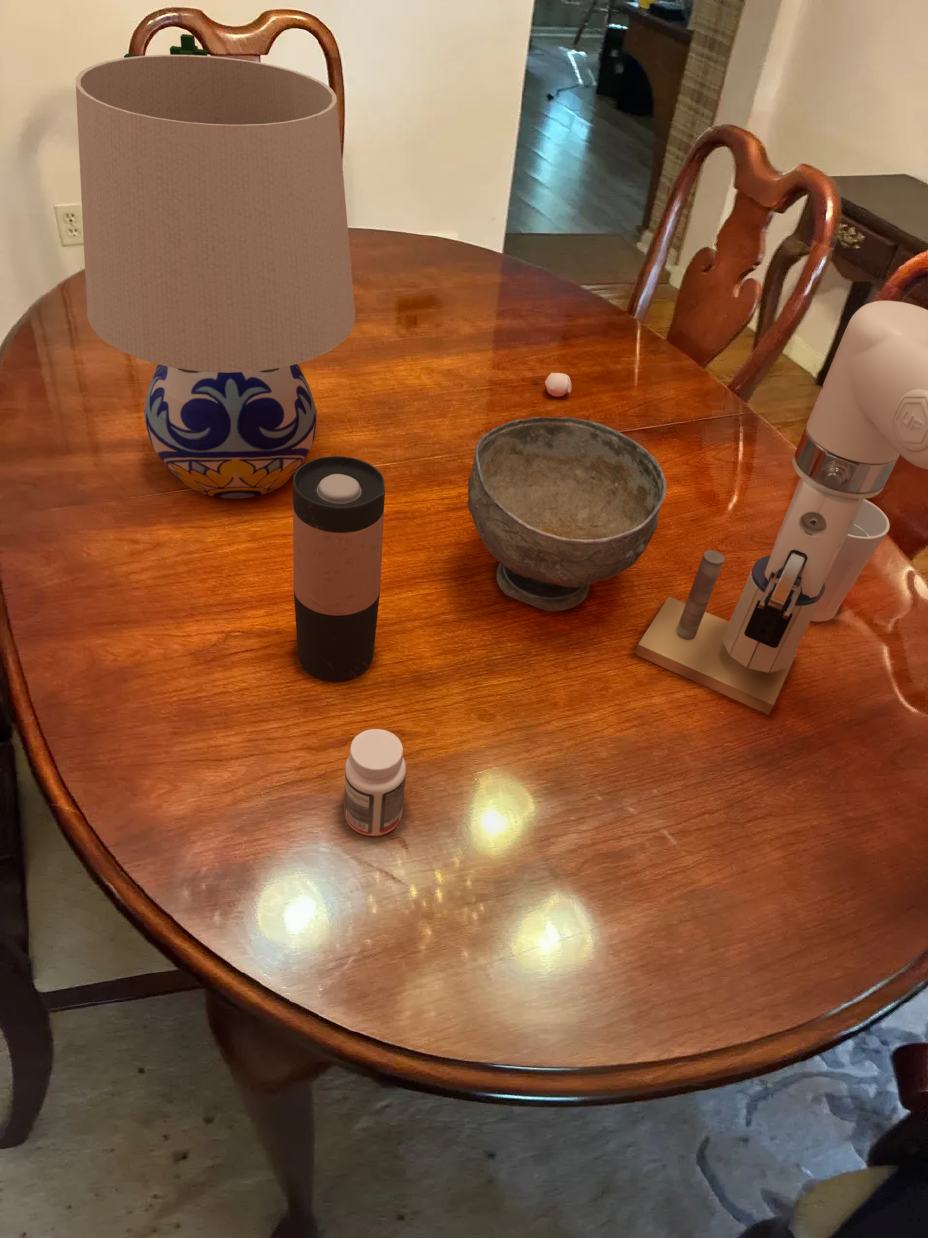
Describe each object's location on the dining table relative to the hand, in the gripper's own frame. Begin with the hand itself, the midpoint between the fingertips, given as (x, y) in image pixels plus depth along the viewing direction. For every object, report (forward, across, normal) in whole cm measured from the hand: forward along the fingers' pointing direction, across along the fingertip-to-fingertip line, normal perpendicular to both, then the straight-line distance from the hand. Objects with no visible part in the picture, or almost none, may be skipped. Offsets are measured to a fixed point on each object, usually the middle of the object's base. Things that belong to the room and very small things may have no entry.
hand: (772, 616), depth 87 cm
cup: (+8, +15, -2) cm, 17 cm away
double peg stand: (+8, 0, +4) cm, 8 cm away
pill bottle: (+8, -35, +22) cm, 42 cm away
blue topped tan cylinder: (+4, 0, 0) cm, 4 cm away
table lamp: (+8, -3, +62) cm, 63 cm away
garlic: (+8, +38, +40) cm, 56 cm away
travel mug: (+8, -22, +34) cm, 42 cm away
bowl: (+8, 0, +22) cm, 24 cm away
